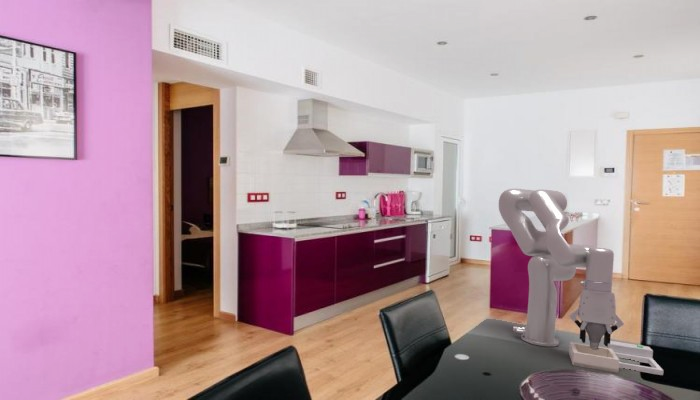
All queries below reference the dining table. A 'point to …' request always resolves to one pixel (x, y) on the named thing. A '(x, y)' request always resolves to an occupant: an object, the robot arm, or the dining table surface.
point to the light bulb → (595, 334)
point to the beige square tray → (593, 357)
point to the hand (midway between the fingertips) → (594, 343)
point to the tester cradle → (635, 357)
